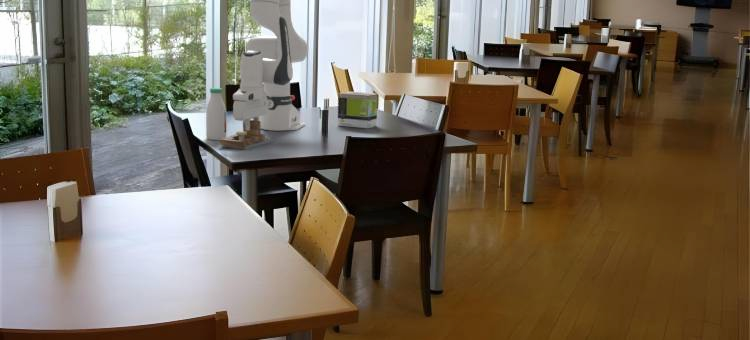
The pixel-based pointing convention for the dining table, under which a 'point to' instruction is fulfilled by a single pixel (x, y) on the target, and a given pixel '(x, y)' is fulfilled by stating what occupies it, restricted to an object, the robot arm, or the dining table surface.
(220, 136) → the milk bottle
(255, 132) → the wooden stepped block
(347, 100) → the tea box
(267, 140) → the boss board
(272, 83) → the robot arm
